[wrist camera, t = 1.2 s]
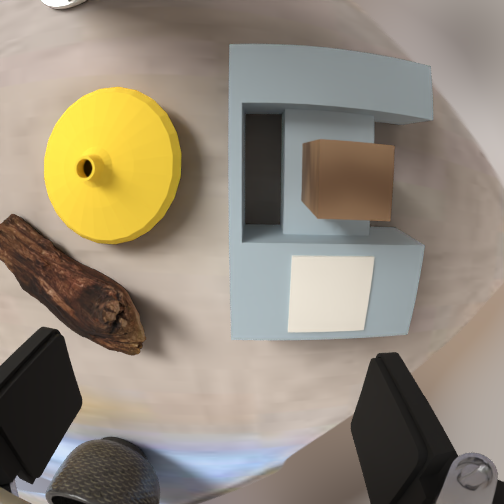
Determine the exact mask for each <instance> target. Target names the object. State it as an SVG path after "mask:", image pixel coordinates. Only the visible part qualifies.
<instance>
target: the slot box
mask: <svg viewBox="0 0 504 504" xmlns="http://www.w3.org/2000/svg"><path fill="white" fill-rule="evenodd" d="M245 114H282V151H281V211H280V225H277V224H245ZM431 120H433V94H432V76H431V66H428V65H424V64H420V63H416V62H411V61H407V60H402V59H398V58H393V57H388V56H382V55H377V54H371V53H365V52H358V51H351V50H344V49H336V48H326V47H316V46H303V45H285V44H229V131H228V172H229V263H230V309H231V340H321V339H347V338H366V337H382V336H395V335H407V334H408V330H409V326H410V322H411V318H412V313H413V309H414V304H415V299H416V294H417V289H418V284H419V279H420V273H421V267H422V261H423V255H424V248H425V245H423V244H422V243H420V242H418V241H417V240H415V239H413V238H412V237H410V236H409V235H407V234H405V233H404V232H402V231H400V230H399V229H397V228H395V227H370V220H341V219H317V218H316V216H315V215H314V214H313V213H312V212H311V211H310V210H309V209H308V208H307V207H306V205H305V204H304V203H303V202H302V201H301V193H302V144H303V143H306V142H310V141H314V140H318V139H327V140H342V141H354V142H365V143H374V121H375V122H383V123H390V124H397V125H404V124H410V123H417V122H424V121H431Z"/></svg>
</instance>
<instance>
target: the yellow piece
mask: <svg viewBox="0 0 504 504" xmlns="http://www.w3.org/2000/svg"><path fill="white" fill-rule="evenodd" d="M180 177H181V150H180V145H179V140H178V136H177V132H176V130H175V128H174V126H173V124H172V122H171V120H170V118H169V117H168V115H167V113H166V112H165V111H164V110H163V109H162V108H161V107H160V106H159V105H158V104H157V103H156V102H155V101H154V100H153V99H152V98H150V97H148V96H146V95H144V94H142V93H141V92H139V91H137V90H132V89H127V88H122V87H112V88H104V89H99V90H96V91H94V92H92V93H89V94H87V95H85V96H83V97H81V98H80V99H79V100H78V101H76V102H75V103H74V104H72V105H71V106H70V107H69V108H68V109H67V110H66V111H65V113H64V114H63V115H62V116H61V118H60V119H59V120H58V122H57V123H56V125H55V127H54V129H53V131H52V134H51V136H50V138H49V140H48V144H47V149H46V154H45V159H44V179H45V184H46V188H47V192H48V197H49V199H50V201H51V203H52V205H53V207H54V209H55V211H56V213H57V214H58V216H59V217H60V218H61V219H62V221H63V222H64V223H65V224H66V225H67V227H69V228H70V229H71V230H73V231H74V232H75V233H77V234H78V235H80V236H81V237H83V238H86V239H88V240H91V241H94V242H97V243H105V244H119V243H123V242H127V241H131V240H134V239H136V238H138V237H139V236H141V235H143V234H145V233H146V232H148V231H150V230H151V229H152V228H153V227H154V226H155V225H156V224H157V223H158V222H159V221H160V220H161V219H162V218H163V217H164V215H165V213H166V212H167V210H168V208H169V207H170V205H171V203H172V201H173V200H174V198H175V194H176V191H177V187H178V184H179V181H180Z"/></svg>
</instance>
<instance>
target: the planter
mask: <svg viewBox="0 0 504 504" xmlns="http://www.w3.org/2000/svg"><path fill="white" fill-rule="evenodd" d="M46 499H47V501H48V503H49V504H159V500H160V486H159V481H158V477H157V475H156V472H155V470H154V469H153V467H152V466H151V464H150V463H149V462H148V461H147V458H146V456H145V454H144V453H143V452H142V451H141V450H140V449H139V448H138V447H136V446H135V445H133V444H132V443H130V442H128V441H125V440H123V439H119V438H115V437H106V438H103V439H100V440H91V441H87V442H84V443H82V444H81V445H79V446H78V447H76V448H75V449H74V450H73V451H72V452H71V453H70V454H69V455H68V456H67V458H66V459H65V460H64V462H63V463H62V464H61V466H60V467H59V469H58V471H57V472H56V474H55V475H54V477H53V479H52V481H51V483H50V485H49V487H48V489H47V491H46Z"/></svg>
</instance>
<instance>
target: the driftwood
mask: <svg viewBox="0 0 504 504" xmlns="http://www.w3.org/2000/svg"><path fill="white" fill-rule="evenodd" d="M0 260H1V261H3V262H4V263H5V265H6V266H7V267H8V269H9V270H10V271H11V272H12V273H13V274H14V275H15V277H16V279H17V281H18V282H19V284H20V286H21V287H22V289H23V290H24V291H26V292H28V293H29V294H30V295H31V296H33V297H35V298H36V299H37V300H39V301H40V302H41V303H42V304H44V305H45V306H46V307H47V308H48V309H49V310H50V311H51V312H52V313H53V314H54V315H55V316H56V317H57V318H58V319H59V320H60V321H61V322H63V323H64V324H65V325H66V326H67V327H69V328H70V329H71V330H72V331H74V332H76V333H77V334H79V335H81V336H82V337H85V338H88V339H90V340H91V341H93V342H95V343H97V344H99V345H101V346H103V347H105V348H107V349H109V350H114V351H117V352H122V353H125V354H128V355H135V354H139V353H140V349H141V348H142V346H143V345H142V342H144V341H145V340H146V337H145V334H144V329H143V326H142V324H141V322H140V315H139V313H138V311H137V310H136V308H135V305H134V304H133V302H132V300H131V298H130V296H129V294H128V293H127V291H126V290H125V289H124V288H123V287H122V286H121V285H119V284H118V283H117V282H115V281H114V280H112V279H111V278H109V277H107V276H106V275H104V274H102V273H100V272H98V271H96V270H95V269H91V268H90V267H87V266H85V265H82V264H81V263H79V262H77V261H75V260H74V259H72V258H70V257H68V256H67V255H65V254H64V253H63V252H61V251H59V250H58V249H56V248H55V247H54V246H53V244H52V242H51V241H50V240H49V239H45V238H43V236H41V235H40V234H39V233H38V232H37V231H36V230H35V229H34V228H32V227H31V226H30V225H29V224H28V223H26V222H25V221H24V220H23V219H22V218H21V217H19V216H17V215H15V214H11V215H10V216H9V217H8V218H7V219H6V220H4V222H3V223H1V224H0Z"/></svg>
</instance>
